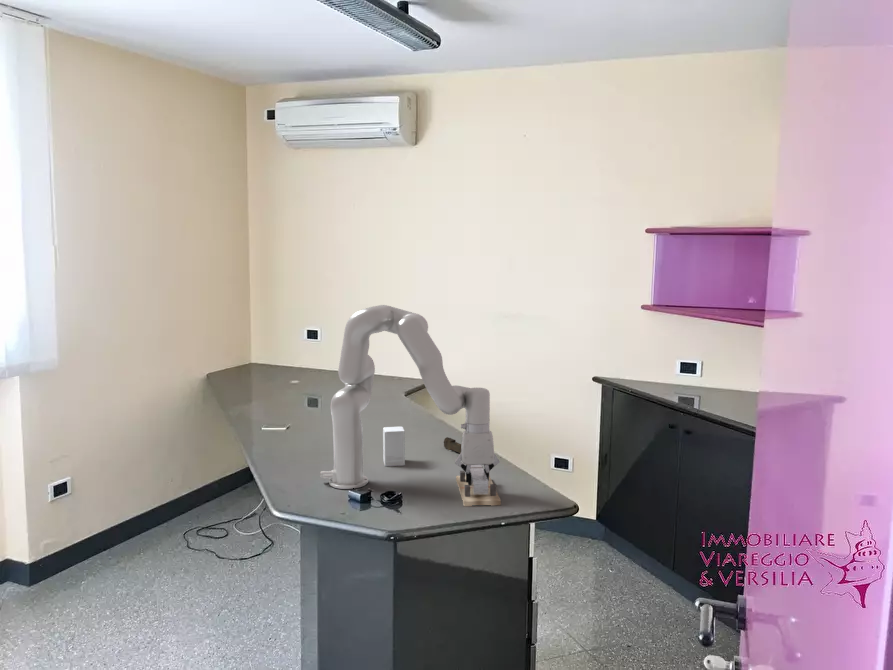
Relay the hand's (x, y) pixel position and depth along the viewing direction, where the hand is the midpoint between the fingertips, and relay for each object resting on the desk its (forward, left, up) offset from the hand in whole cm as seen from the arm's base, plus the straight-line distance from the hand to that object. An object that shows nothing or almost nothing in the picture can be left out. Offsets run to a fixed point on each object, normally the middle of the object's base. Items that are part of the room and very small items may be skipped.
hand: (477, 483), depth 213 cm
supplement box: (-26, +33, -3) cm, 42 cm away
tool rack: (0, 0, -3) cm, 3 cm away
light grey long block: (0, 0, 0) cm, 0 cm away
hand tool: (-2, +43, -3) cm, 44 cm away
